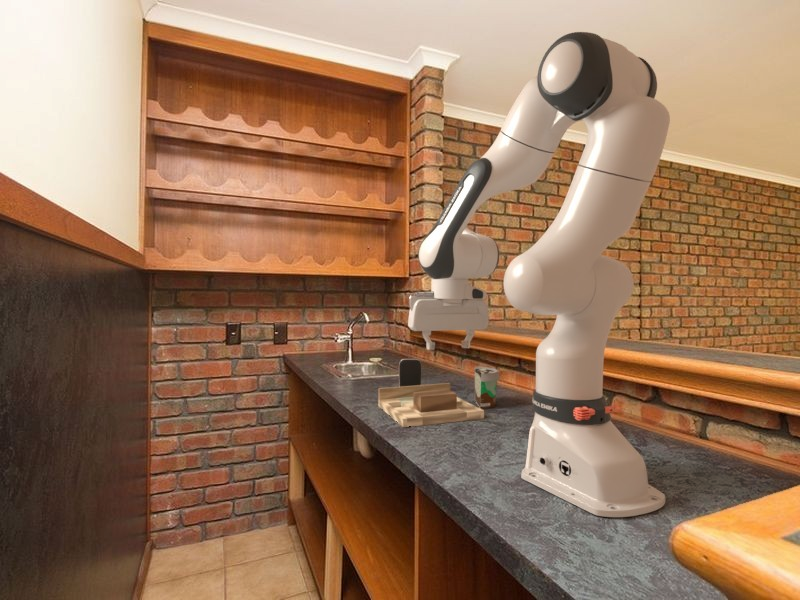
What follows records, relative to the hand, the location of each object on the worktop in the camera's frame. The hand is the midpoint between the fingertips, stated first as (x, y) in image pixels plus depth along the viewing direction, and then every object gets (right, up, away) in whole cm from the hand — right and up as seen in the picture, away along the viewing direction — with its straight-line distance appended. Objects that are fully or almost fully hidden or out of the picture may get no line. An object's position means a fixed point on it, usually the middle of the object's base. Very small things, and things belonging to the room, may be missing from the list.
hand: (448, 348), depth 102 cm
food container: (+13, -18, +18) cm, 29 cm away
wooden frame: (-4, -18, +11) cm, 21 cm away
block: (-3, -16, +7) cm, 18 cm away
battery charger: (-9, -18, +29) cm, 35 cm away
